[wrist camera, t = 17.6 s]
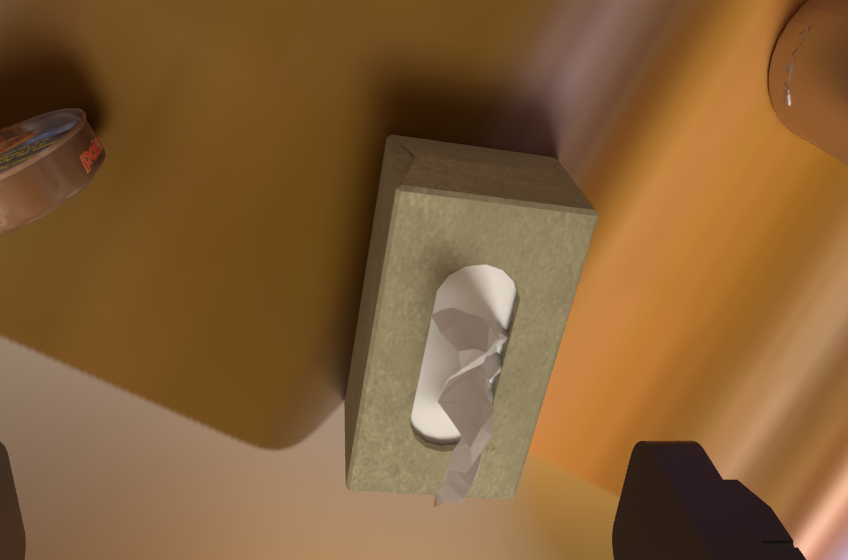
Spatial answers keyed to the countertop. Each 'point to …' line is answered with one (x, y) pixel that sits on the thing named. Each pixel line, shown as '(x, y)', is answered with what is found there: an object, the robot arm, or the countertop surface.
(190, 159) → the countertop surface
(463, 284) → the tissue box
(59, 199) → the tin
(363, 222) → the countertop surface
